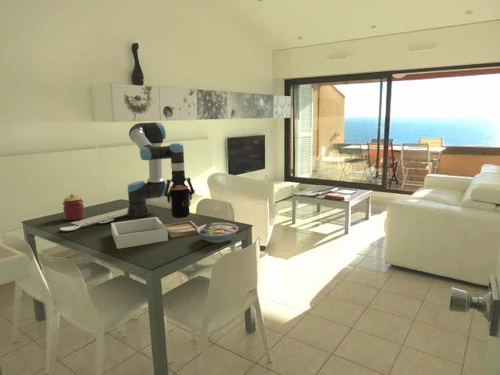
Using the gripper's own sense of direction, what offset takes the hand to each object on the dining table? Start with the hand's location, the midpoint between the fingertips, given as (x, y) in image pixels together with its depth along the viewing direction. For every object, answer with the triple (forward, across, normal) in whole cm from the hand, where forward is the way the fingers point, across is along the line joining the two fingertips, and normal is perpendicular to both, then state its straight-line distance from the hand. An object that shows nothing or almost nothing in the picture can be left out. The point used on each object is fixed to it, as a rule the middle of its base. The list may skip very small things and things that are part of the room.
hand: (180, 206), depth 218 cm
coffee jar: (+6, 0, 0) cm, 6 cm away
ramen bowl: (+16, +13, -28) cm, 35 cm away
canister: (+16, -58, +63) cm, 87 cm away
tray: (+15, 0, 0) cm, 15 cm away
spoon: (+16, -51, +38) cm, 66 cm away
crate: (+15, -25, 0) cm, 29 cm away
